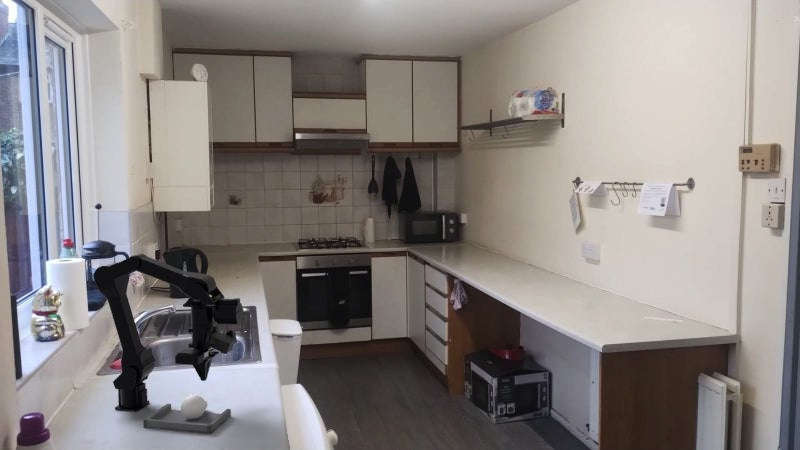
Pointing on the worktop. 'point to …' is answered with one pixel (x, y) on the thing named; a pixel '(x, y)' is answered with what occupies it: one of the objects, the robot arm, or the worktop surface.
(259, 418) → the worktop surface
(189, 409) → the lightbulb
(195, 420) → the tray
